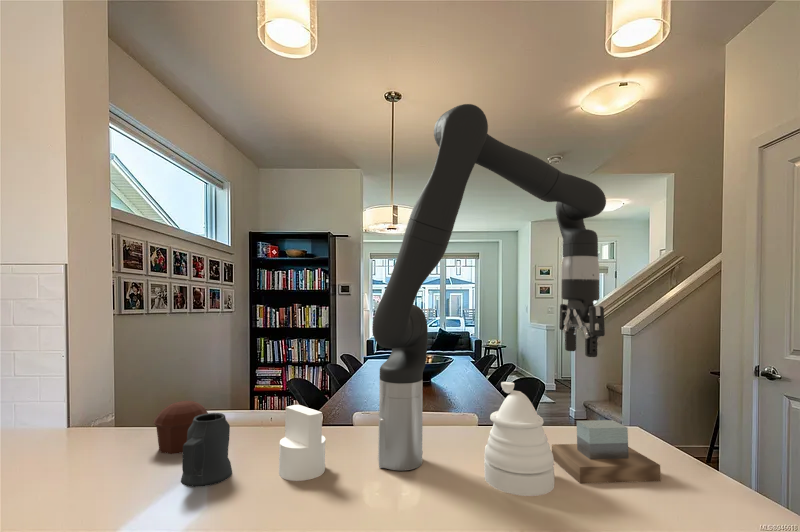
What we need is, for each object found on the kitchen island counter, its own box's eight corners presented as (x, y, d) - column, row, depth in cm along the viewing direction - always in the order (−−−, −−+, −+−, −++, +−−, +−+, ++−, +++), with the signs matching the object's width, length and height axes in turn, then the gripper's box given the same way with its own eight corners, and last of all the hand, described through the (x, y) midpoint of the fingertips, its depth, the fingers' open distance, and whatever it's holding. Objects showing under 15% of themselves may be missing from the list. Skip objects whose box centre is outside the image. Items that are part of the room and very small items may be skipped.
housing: (628, 458, 82) (627, 427, 83) (589, 459, 82) (589, 428, 82) (613, 449, 87) (612, 420, 88) (577, 450, 86) (576, 420, 87)
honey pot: (472, 482, 78) (472, 385, 79) (500, 461, 88) (499, 375, 89) (540, 503, 70) (538, 395, 71) (563, 477, 80) (561, 383, 82)
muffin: (181, 436, 102) (183, 395, 103) (218, 440, 99) (220, 398, 100) (139, 453, 91) (141, 407, 92) (180, 459, 88) (182, 411, 89)
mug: (197, 466, 85) (199, 410, 85) (240, 467, 84) (242, 410, 85) (160, 493, 73) (163, 428, 74) (210, 495, 72) (213, 429, 73)
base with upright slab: (270, 471, 82) (271, 409, 83) (308, 458, 89) (309, 401, 90) (295, 485, 76) (296, 418, 77) (334, 470, 83) (335, 409, 84)
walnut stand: (580, 483, 78) (579, 467, 78) (551, 458, 89) (551, 444, 90) (660, 481, 79) (660, 465, 79) (622, 457, 91) (621, 442, 91)
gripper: (616, 277, 83) (617, 359, 82) (579, 279, 97) (579, 349, 96) (580, 276, 82) (580, 359, 81) (548, 278, 96) (548, 348, 95)
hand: (580, 353), depth 88 cm, fingers open, 8 cm apart
